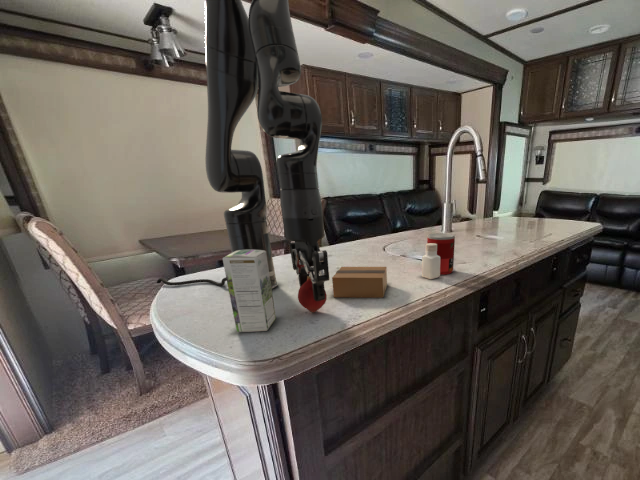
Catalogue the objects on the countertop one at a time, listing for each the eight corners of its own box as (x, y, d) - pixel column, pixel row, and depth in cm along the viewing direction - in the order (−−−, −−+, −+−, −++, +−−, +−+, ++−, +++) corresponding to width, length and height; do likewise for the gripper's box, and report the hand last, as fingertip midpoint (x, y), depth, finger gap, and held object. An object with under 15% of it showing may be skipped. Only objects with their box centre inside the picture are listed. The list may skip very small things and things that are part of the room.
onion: (331, 307, 70) (328, 272, 67) (323, 317, 65) (318, 280, 62) (306, 306, 71) (301, 272, 68) (295, 317, 65) (290, 280, 62)
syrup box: (247, 320, 64) (233, 249, 59) (277, 319, 65) (266, 248, 59) (236, 333, 59) (219, 256, 54) (269, 331, 59) (255, 255, 54)
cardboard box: (333, 297, 76) (331, 277, 74) (342, 284, 85) (341, 266, 84) (383, 297, 75) (382, 277, 74) (387, 284, 85) (386, 266, 83)
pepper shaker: (420, 277, 91) (421, 244, 87) (430, 274, 93) (431, 242, 90) (430, 280, 88) (431, 246, 85) (440, 277, 90) (441, 244, 87)
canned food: (454, 274, 92) (456, 237, 88) (427, 275, 93) (428, 237, 89) (451, 268, 100) (452, 232, 96) (426, 268, 100) (426, 233, 96)
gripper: (271, 213, 64) (283, 290, 70) (297, 218, 53) (308, 309, 59) (307, 210, 68) (315, 283, 74) (337, 215, 57) (344, 300, 63)
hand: (312, 295), depth 66 cm, fingers open, 7 cm apart
